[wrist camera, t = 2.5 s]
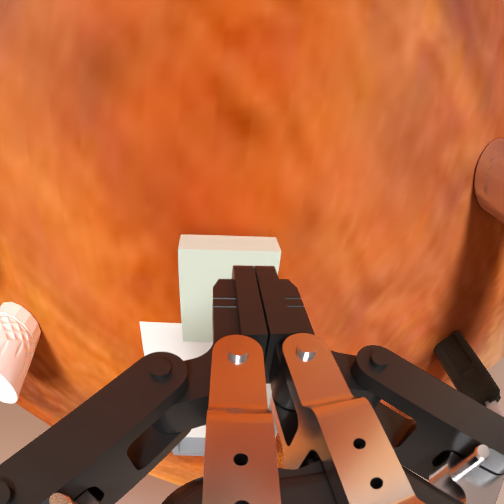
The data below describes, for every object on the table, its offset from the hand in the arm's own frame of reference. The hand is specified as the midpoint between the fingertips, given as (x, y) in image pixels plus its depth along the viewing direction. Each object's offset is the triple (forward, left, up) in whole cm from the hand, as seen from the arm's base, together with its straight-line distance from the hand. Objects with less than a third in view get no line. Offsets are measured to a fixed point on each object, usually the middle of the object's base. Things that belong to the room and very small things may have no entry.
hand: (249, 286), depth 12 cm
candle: (-35, +23, -15) cm, 45 cm away
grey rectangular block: (0, +10, -15) cm, 18 cm away
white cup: (+26, +18, -15) cm, 35 cm away
